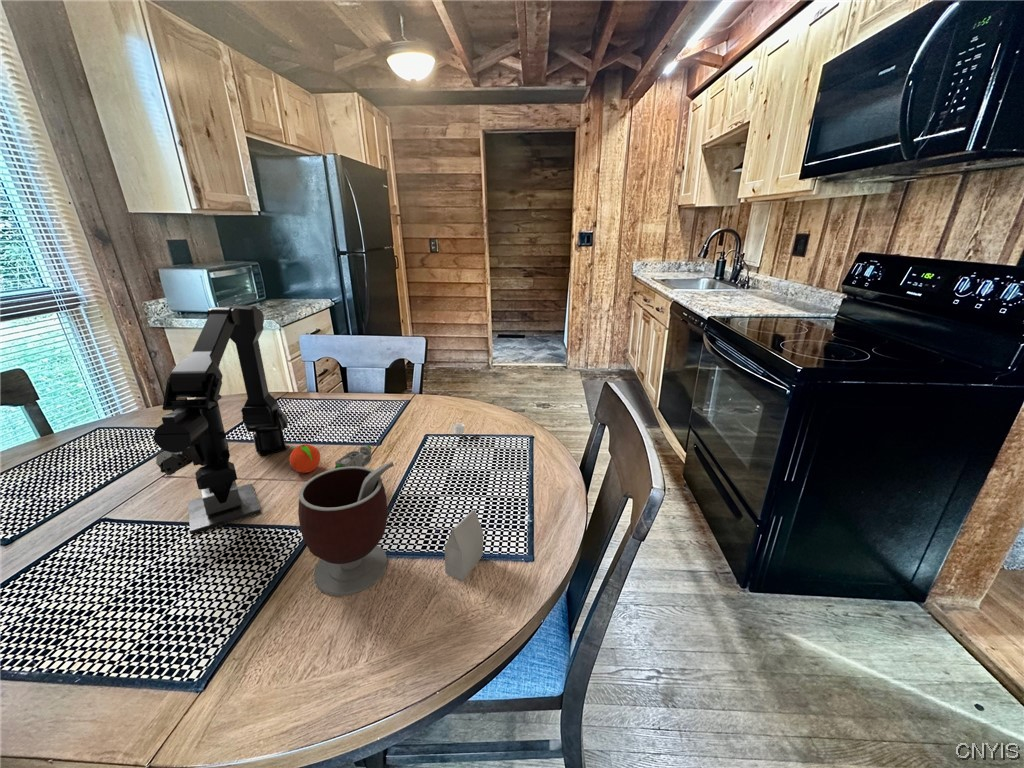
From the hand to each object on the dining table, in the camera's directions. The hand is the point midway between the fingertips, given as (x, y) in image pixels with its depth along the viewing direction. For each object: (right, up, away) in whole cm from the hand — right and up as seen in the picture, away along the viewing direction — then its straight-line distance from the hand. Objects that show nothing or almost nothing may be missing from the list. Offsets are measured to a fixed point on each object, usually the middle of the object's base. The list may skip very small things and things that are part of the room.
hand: (221, 494), depth 88 cm
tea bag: (+53, -10, -12) cm, 55 cm away
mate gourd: (+34, -10, -13) cm, 37 cm away
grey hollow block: (0, -2, +1) cm, 2 cm away
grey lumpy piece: (+26, -2, +9) cm, 27 cm away
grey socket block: (0, -3, +1) cm, 4 cm away
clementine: (+10, +1, +16) cm, 19 cm away
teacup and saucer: (+47, +6, +35) cm, 59 cm away
